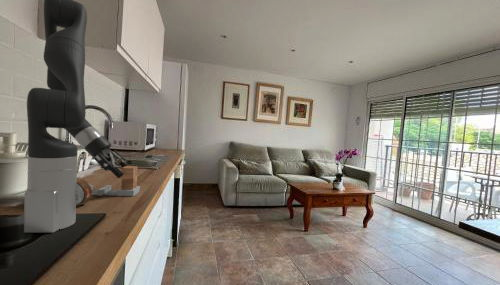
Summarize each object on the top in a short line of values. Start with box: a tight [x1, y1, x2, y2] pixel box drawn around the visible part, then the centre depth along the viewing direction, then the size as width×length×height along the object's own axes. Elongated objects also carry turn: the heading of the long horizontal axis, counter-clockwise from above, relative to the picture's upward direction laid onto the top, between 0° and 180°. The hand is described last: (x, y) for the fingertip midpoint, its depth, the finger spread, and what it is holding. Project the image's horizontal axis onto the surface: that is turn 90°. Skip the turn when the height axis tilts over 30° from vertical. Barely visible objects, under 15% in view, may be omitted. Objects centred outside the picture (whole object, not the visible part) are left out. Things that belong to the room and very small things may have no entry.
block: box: [120, 165, 138, 190], centre depth 88 cm, size 4×4×8 cm
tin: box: [76, 177, 93, 207], centre depth 73 cm, size 15×3×8 cm, turn 84°
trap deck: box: [89, 184, 141, 197], centre depth 87 cm, size 7×22×2 cm, turn 99°
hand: (125, 174), depth 88 cm, fingers open, 8 cm apart
